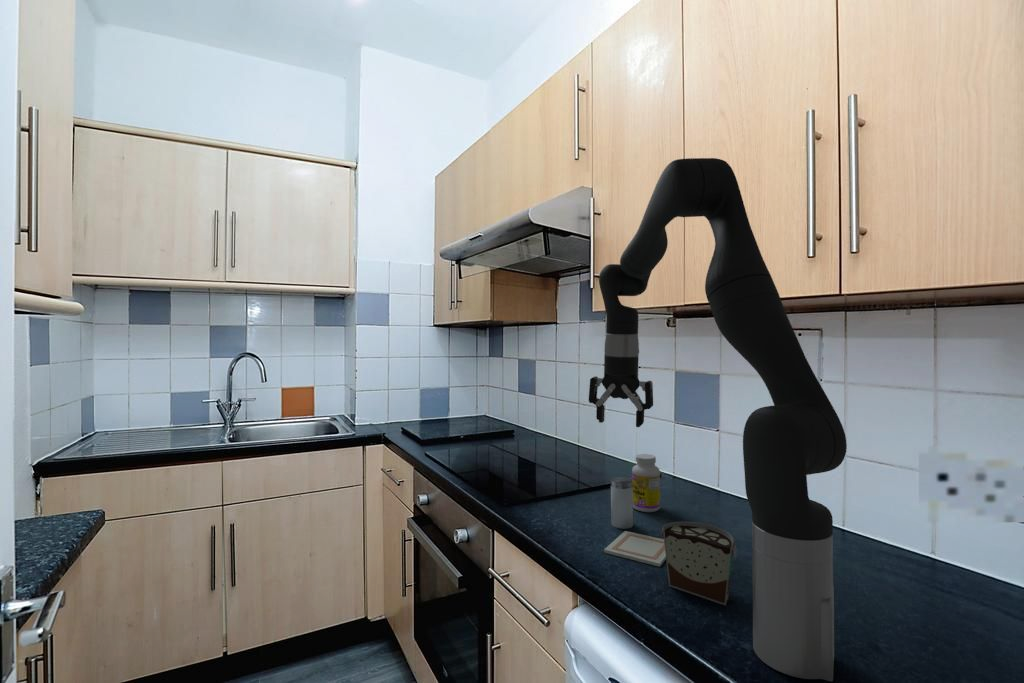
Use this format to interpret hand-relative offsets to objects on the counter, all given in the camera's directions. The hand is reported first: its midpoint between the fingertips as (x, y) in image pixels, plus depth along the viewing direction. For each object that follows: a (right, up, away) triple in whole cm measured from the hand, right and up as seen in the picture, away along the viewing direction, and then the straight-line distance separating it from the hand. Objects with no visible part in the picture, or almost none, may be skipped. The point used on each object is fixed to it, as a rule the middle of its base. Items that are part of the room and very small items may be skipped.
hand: (619, 424), depth 113 cm
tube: (0, -22, -2) cm, 22 cm away
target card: (+1, -22, -14) cm, 27 cm away
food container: (+8, -23, -30) cm, 38 cm away
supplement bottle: (+8, -22, +9) cm, 25 cm away
